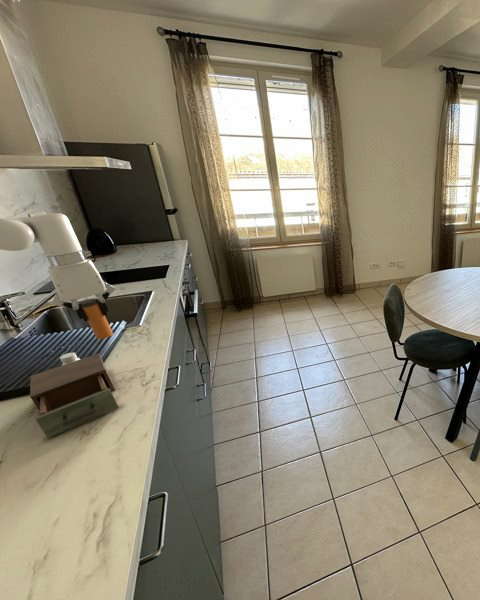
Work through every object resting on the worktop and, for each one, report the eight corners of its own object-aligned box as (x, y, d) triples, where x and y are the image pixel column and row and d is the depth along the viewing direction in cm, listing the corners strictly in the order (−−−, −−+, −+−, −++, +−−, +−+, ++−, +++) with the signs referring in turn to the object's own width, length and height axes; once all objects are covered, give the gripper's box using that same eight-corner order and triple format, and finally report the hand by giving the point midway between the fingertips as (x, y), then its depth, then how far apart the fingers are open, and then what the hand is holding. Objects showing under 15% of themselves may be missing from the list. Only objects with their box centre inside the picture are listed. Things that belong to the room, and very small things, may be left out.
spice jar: (114, 335, 102) (97, 300, 97) (97, 341, 99) (79, 305, 94) (112, 331, 104) (96, 297, 100) (95, 336, 102) (77, 301, 97)
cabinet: (116, 391, 93) (105, 369, 90) (45, 420, 84) (30, 396, 81) (109, 373, 102) (98, 353, 99) (43, 398, 93) (30, 376, 90)
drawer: (121, 415, 83) (112, 396, 80) (48, 447, 74) (35, 428, 72) (111, 388, 93) (103, 371, 91) (46, 414, 85) (35, 396, 82)
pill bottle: (85, 377, 101) (74, 356, 98) (67, 382, 99) (55, 361, 96) (89, 370, 104) (78, 349, 101) (71, 375, 103) (60, 354, 100)
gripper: (103, 250, 100) (127, 304, 107) (25, 264, 89) (57, 324, 96) (107, 253, 95) (131, 310, 102) (24, 269, 84) (58, 331, 91)
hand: (95, 316), depth 99 cm, fingers closed on spice jar, 4 cm apart
